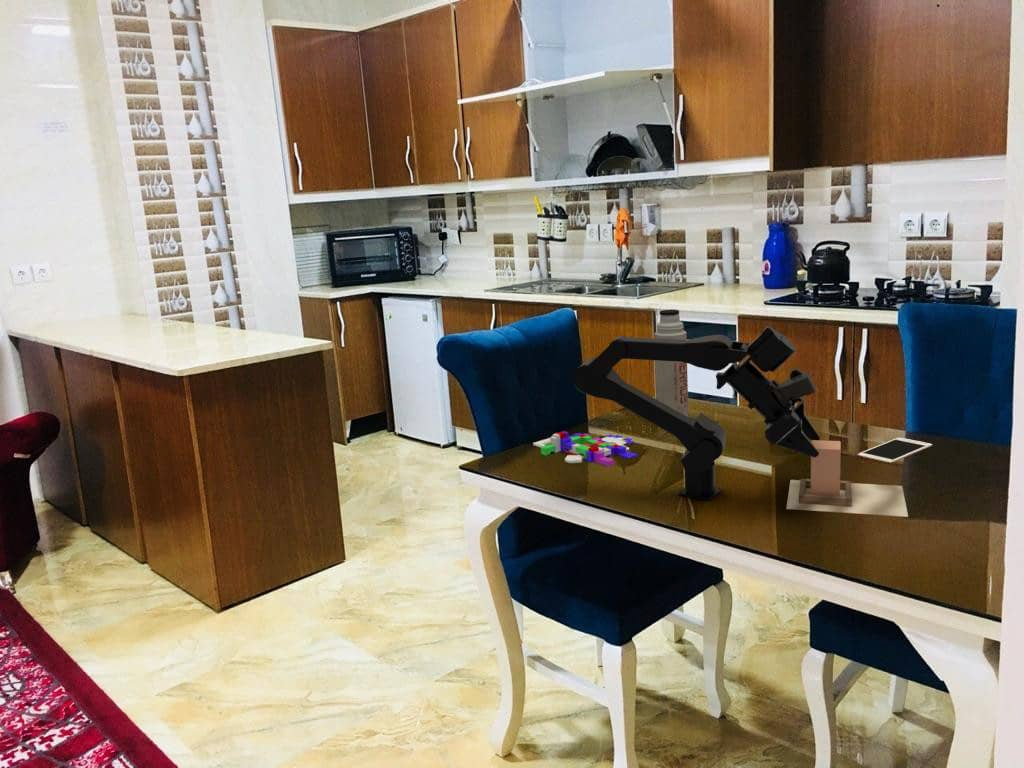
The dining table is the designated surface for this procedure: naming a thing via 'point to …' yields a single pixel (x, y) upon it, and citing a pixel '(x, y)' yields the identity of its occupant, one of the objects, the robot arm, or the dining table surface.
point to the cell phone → (895, 450)
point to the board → (849, 499)
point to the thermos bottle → (671, 365)
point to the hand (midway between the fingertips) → (817, 447)
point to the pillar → (826, 468)
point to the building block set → (586, 447)
